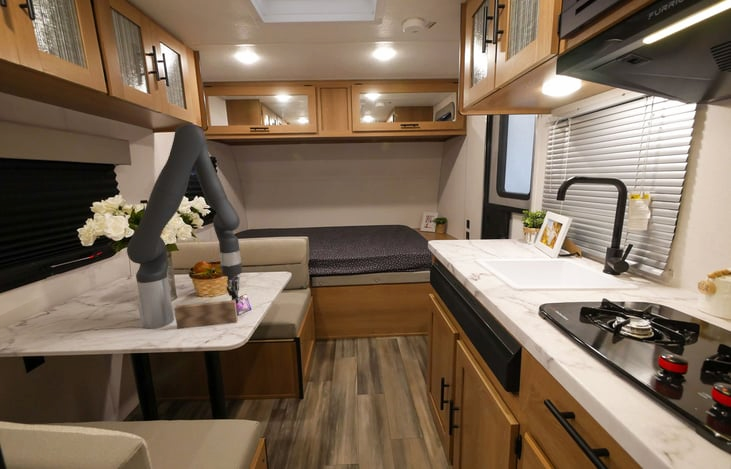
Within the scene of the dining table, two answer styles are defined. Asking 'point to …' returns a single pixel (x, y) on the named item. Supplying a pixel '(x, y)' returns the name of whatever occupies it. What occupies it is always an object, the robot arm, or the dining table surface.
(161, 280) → the robot arm
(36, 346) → the dining table surface
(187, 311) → the walnut board
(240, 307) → the purple crystal
